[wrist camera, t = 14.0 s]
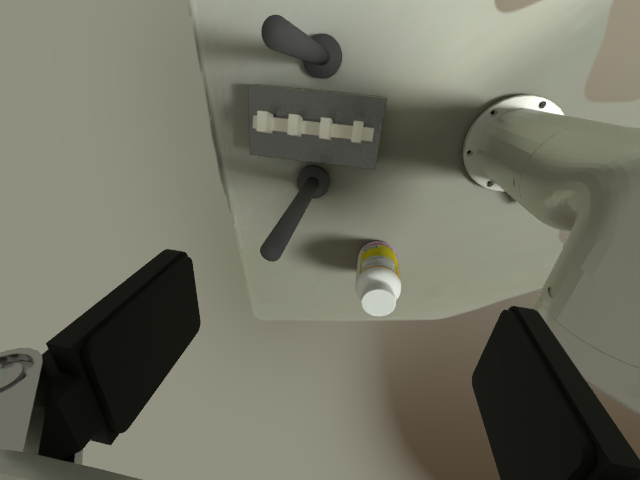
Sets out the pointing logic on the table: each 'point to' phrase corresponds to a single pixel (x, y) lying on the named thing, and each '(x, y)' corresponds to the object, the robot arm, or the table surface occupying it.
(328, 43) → the cable upright
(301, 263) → the table surface
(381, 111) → the breaker panel
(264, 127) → the breaker paddles
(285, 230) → the cable upright
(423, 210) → the table surface
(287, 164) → the table surface
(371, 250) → the supplement bottle
